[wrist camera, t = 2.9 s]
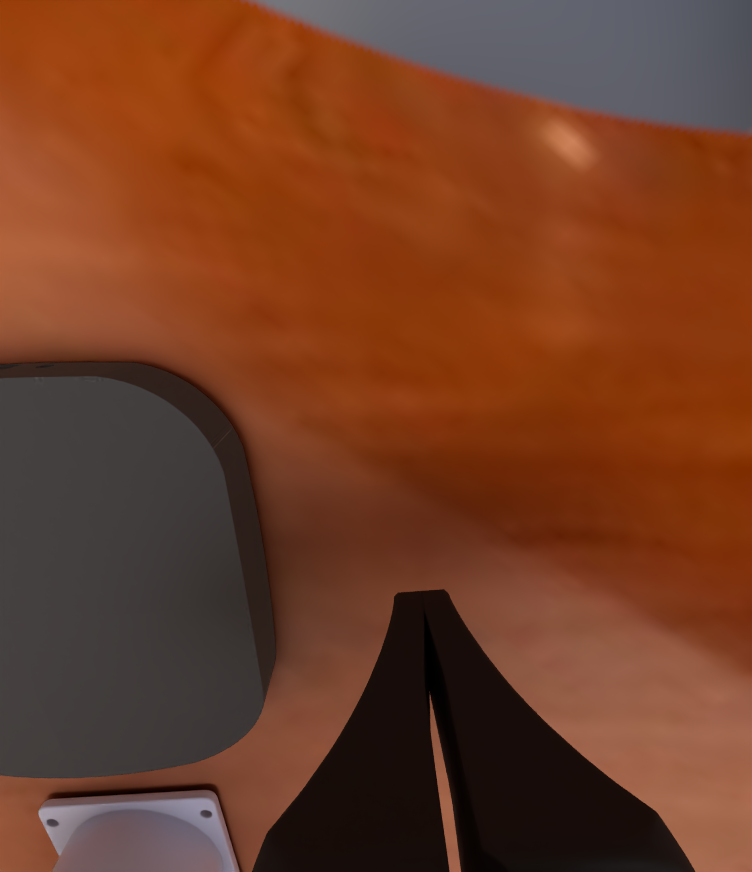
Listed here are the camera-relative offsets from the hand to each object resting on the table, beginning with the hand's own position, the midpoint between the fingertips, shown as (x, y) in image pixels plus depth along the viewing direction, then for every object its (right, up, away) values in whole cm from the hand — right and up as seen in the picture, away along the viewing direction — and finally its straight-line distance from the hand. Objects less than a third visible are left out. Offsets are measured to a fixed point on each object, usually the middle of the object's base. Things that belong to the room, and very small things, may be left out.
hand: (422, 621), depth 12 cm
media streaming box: (-12, 0, +5) cm, 13 cm away
